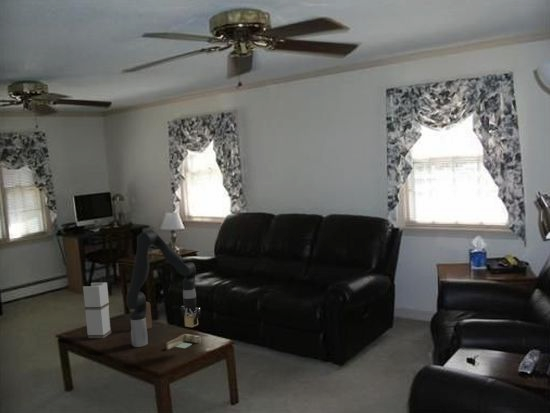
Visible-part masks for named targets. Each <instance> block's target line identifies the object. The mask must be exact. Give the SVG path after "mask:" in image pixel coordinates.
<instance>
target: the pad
mask: <svg viewBox="0 0 550 413" xmlns="http://www.w3.org/2000/svg"><path fill="white" fill-rule="evenodd" d="M192 345H193V343H191V342H185V341H184V342H183V343H181V344H179V345H177V346H175V347H174V348H180V349H186V348H189V347H190V346H192Z"/></svg>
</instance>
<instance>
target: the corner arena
mask: <svg viewBox="0 0 550 413" xmlns="http://www.w3.org/2000/svg"><path fill="white" fill-rule="evenodd" d="M183 342H184V343H185V342H187V343H195V344H201V343H202V337H201V335H194V334H188V333H183V334H181V335H179V336H178V337H176V338H174V339H171V340H169V341H167V342H166V343H165V344H166V345H165V346H166V350H171V349H173V348H176V347H175V346H177V345H179V344H181V343H183Z"/></svg>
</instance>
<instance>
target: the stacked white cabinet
mask: <svg viewBox="0 0 550 413" xmlns="http://www.w3.org/2000/svg"><path fill="white" fill-rule="evenodd" d="M82 290H83V299H84V300H83V301H84V310H85V321H86V331H87V338H88V339H105V338H106V337H107V336H109V335H111V334H112V329H111V321H110V319H111V318H110V313H109V312H110V311H109V308H110V301H109V290H108V282H91V283H90V286H85V285H84V286H82Z"/></svg>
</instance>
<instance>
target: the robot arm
mask: <svg viewBox="0 0 550 413" xmlns="http://www.w3.org/2000/svg"><path fill="white" fill-rule="evenodd" d="M136 244H137V245H136V253H135V259H134V264H133V270H132V275H131V281H130V285H129V289H128V291H127V295H126V300H125V304H126V306H127V308H128V309H130V310H133V311H132V312H131V313H130V317H129V318H130V327H131V330H130V339H131V346H132V347H134V348H141V347H145V346H147V345H148V344H149V341H148V339H149V338H148V329H147V326H146V302H147V299H146V295H145V294H144V292H142V291H141V290H140V289H141V288H142V287H143V286H144V283H146V280H147V278H148V276H149V272H150V262H149V258H148V252H149V248H150V247H151V246H154V247H155V248H157V249H158V250H159V251H160V252H161V254H162V256H163V257H164V259H165V260H166V261H167V262H168V263H170V264H171V265H172V266H173V267H174V268H175V269H176V271H177V272H178V274H180V275H181V276H183V277H184V279H183V281H182V298H183V305H181V306H180V307H179V308H180V312H181V316H182V317H186V316H189V315H192V316H193V318H194V325H196V326H198V325H197V323H198V324H199V321H198V322H197V318H198V319H199V318H200V317H201V311H202V309H201V307H197V291H196V283H195V279H196V275H197V274H196V273H197V268H196V265H195V263H193V262H191V261H190V262H189V261H188V262H186V263H185V262H184V261H183V256H181V255H180V254H178V253H177V252H176V251H175V250H174V249H172V247H171V246H169V244H167V243H166V242H165V241H164V239H162V237H161V236H160V235H159V234H158V232H156V231H154V230H152V229H148V230H145V231H142V232H140V233H139V234H138V236H137V242H136Z"/></svg>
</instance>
